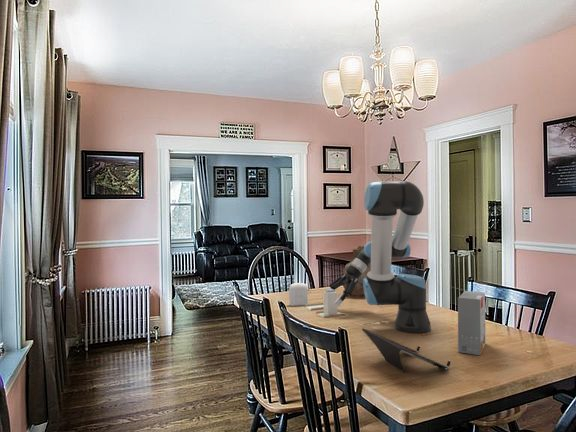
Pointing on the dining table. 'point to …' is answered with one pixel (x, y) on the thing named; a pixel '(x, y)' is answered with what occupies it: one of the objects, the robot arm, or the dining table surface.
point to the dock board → (321, 306)
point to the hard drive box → (471, 322)
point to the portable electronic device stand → (398, 351)
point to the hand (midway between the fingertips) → (330, 302)
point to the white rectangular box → (330, 302)
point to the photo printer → (298, 294)
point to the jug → (359, 288)
